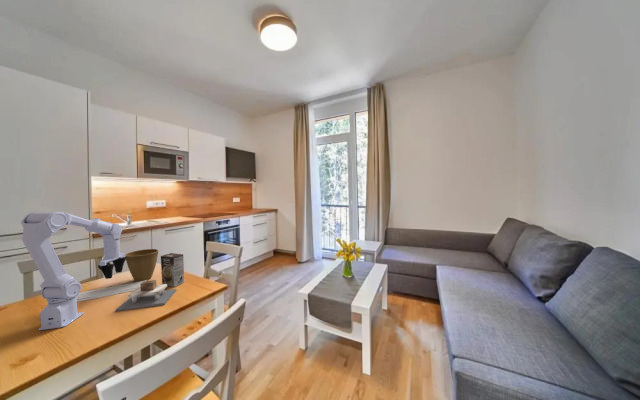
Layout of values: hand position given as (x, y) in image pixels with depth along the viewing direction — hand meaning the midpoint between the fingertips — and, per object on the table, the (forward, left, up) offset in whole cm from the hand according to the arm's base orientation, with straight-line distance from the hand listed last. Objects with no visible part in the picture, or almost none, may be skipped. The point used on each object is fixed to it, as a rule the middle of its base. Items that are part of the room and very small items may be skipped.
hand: (114, 275), depth 107 cm
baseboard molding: (+3, +6, -11) cm, 13 cm away
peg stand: (-11, -19, -10) cm, 24 cm away
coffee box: (+6, -23, -10) cm, 26 cm away
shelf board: (-11, -19, -6) cm, 23 cm away
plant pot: (+18, -4, -10) cm, 21 cm away
